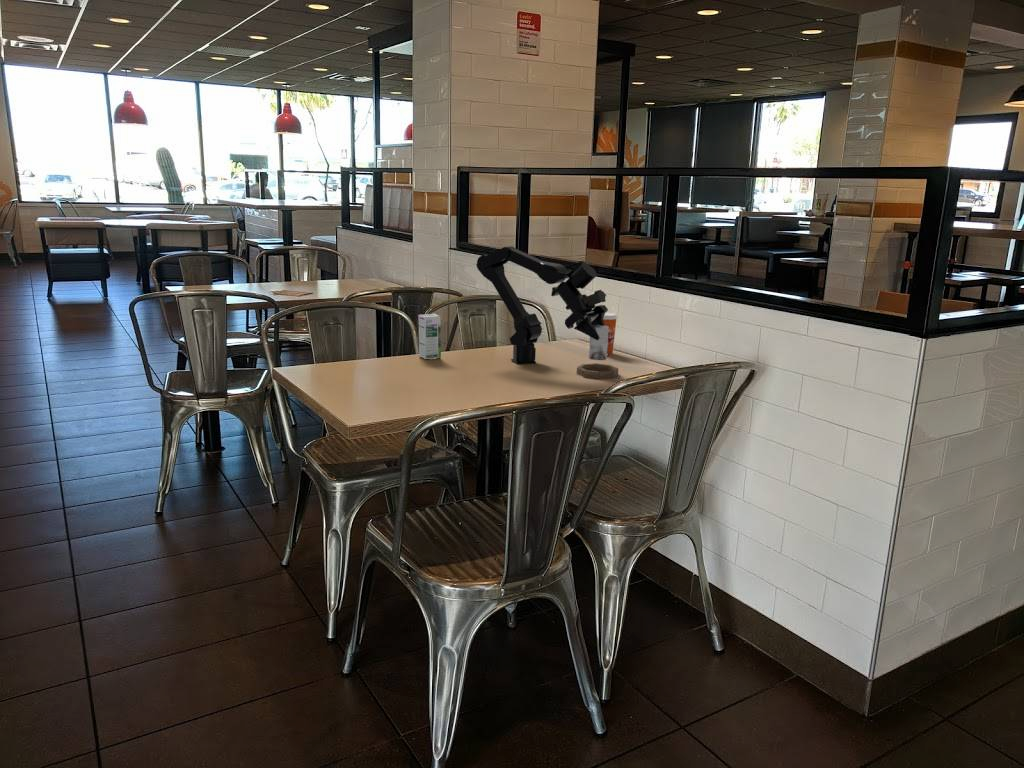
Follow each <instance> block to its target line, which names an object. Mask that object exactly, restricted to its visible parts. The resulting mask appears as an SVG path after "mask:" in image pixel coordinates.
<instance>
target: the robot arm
mask: <svg viewBox="0 0 1024 768" xmlns="http://www.w3.org/2000/svg"><path fill="white" fill-rule="evenodd" d="M508 262H511V263H513V264H515V265H518V266H519V267H522V268H524V269H527V270H528V271H531V272H533V273H535V274H536V276H538V278H539V279H541V281H543V282H545V283H546V284H548V285H554V284H558V285H557V286H553V287H551V289H552V290H551V294H550V295H551V297H555V296H557V297H558V296H559V298H561V299H562V301H563V302H564V303H565V305H566V306H565V307H564V308H565V309H566V311H568V310H569V311H570V312H571V314H570V315H569V316H568V317H566V318H565V320H564V325H565V327H566V328H567V329H568V330H569V329H570V330H571V329H574V330H575V331H578V332H581V333H582V334H585V335H586V336H589V338H590V337H592V338H594V339H596V340H598V339H600V337H599V335H598V334H597V332H596V330H595V329H594V327H593V325H605V324H604V321H603V318H604V315H605V313H608V311H609V309H608V307H607V306H606V305H605V304H601V303H605V302H606V301H607V300H606V297H607V294H606V293H605V291H603V290H602V289H598V290H595V291H594V292H593V293H592V294H589V295H587V294H582V293H581V291H580V290H579V289H585V288H586V286H588V285H589V284H590V283H591V282H592V281H593V280H594V279H595V278H596V277H597V276H598V275H597V271H596V270H595V269H594V268H593V267H592V266H591V265H590V264H588V263H586V262H585V261H584V260H579V261H578V262H577V263H576V265H575V266H574V267H573V268H572V269H571V270H570V269H567V267H566V266H564V265H562V264H561V263H557V262H556V263H555V262H550V261H544V260H541V259H539V258H537V257H535V256H533V255H531V254H529V253H526V252H524V251H522V250H519V249H517V248H516V247H514V246H512V245H511V246H509V245H508V246H503V247H501V248H500V249H498V250H496V251H493V252H491V253H489V254H484V255H483V254H481V255H480V256H479V257H478V258H477V260H476V264H475V265H476V269H477V270H478V272H480V274H481V275H482V277H483V278H485V279H486V280H488V281H489V282H490V283H492V286H493V287H494V288H495V290H496V292H497V293H498V296H499V297H500V299H501V300H502V302H503V303H504V305H505V307H506V309H507V310H508V312H509V314H510V316H511V317H512V319H513V329H514V330H515V332H514V333H513V334H512V335H511V336H510V338H509V341H510V345H512V346H513V349H512V358H510V360H511V361H512V362H514V363H515V364H517V365H525V364H536V363H537V361H536V347H535V343H537V342H538V340H539V337H540V336H541V335H542V331H543V328H542V322H541V321H540V320H539V318H538V317H537V314H536V313H529V312H528V311H527V310H526V309H525V306H524V305H523V304H522V301H521V300H520V299H519V297H518V296H517V293H516V292H515V290H514V289H513V287H512V285H511V284H510V282H509V280H508V279H507V277H506V274H505V273H506V272H505V265H506V264H507V263H508ZM598 304H599V305H598ZM575 325H576V326H575Z"/></svg>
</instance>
